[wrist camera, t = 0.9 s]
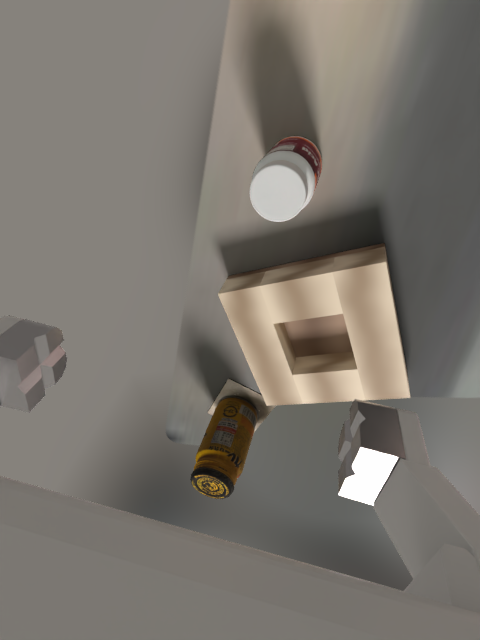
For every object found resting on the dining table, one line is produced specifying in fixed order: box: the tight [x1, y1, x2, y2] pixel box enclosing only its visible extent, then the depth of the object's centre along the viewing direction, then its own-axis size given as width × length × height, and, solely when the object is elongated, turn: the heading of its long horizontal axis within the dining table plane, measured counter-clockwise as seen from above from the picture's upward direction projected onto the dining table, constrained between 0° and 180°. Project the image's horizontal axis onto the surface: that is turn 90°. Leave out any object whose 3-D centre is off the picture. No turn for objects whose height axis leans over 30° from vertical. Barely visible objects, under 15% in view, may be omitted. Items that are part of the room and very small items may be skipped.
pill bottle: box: [250, 136, 322, 222], centre depth 30 cm, size 5×5×8 cm
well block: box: [218, 243, 410, 406], centre depth 41 cm, size 16×16×4 cm
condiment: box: [191, 379, 276, 499], centre depth 49 cm, size 7×8×12 cm
